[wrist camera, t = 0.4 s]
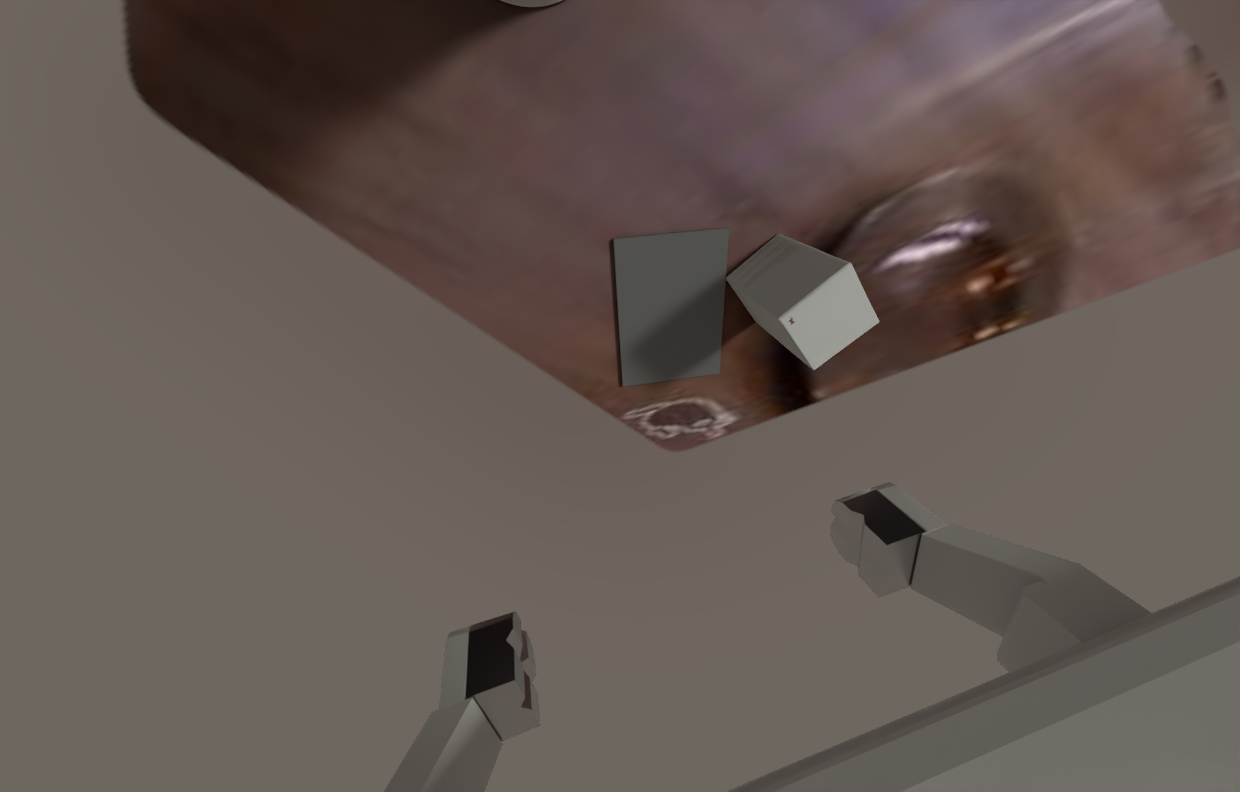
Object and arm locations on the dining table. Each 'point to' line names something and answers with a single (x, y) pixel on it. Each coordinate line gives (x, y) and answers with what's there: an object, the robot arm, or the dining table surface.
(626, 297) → the mat
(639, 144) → the dining table surface
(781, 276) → the supplement box
